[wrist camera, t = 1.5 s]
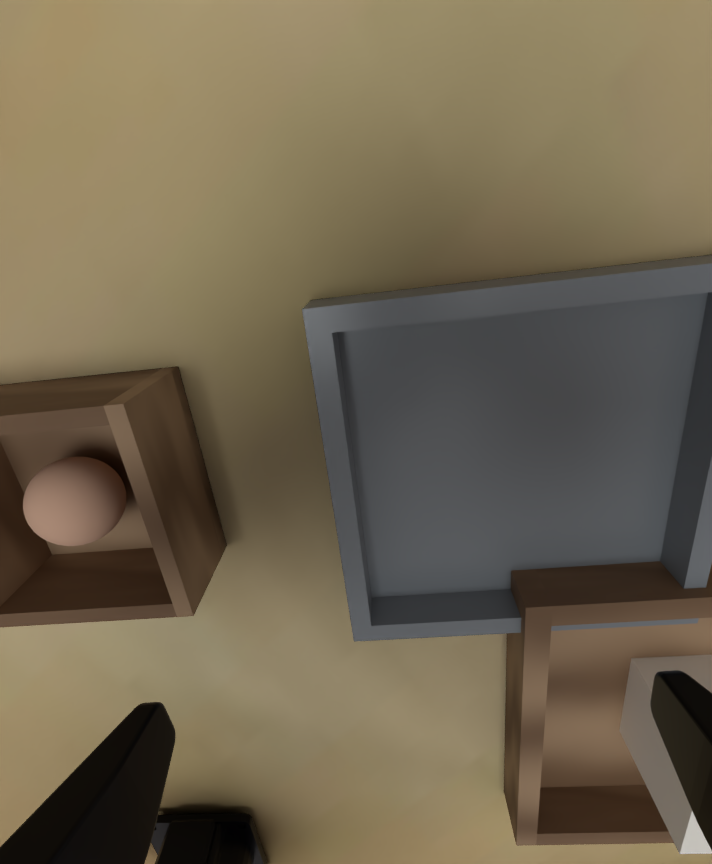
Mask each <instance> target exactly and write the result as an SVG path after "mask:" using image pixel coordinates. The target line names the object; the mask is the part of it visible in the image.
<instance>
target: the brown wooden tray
mask: <svg viewBox="0 0 712 864" xmlns="http://www.w3.org/2000/svg"><path fill="white" fill-rule="evenodd" d="M511 592H512V594H513V597H514V600H515V602H516V605H517V607H518V610H519V613H520V615H521V633H507V666H506V718H505V769H504V793H505V798H506V802H507V807H508V811H509V815H510V820H511V824H512V828H513V833H514V837H515V841H516V845H574V844H636V843H674V841H673V839H672V837H671V835H670V833H669V831H668V829H667V827H666V825H665V823H664V821H663V819H662V817H661V815H660V813H659V811H658V809H657V807H656V805H655V802H654V800H653V798H652V796H651V794H650V792H649V790H648V788H647V786H646V784H645V782H644V780H643V778H642V776H641V774H640V772H639V770H638V768H637V766H636V764H635V762H634V760H633V757H632V755H631V753H630V751H629V749H628V747H627V745H626V743H625V741H624V739H623V737H622V735H621V733H620V731H619V730H620V724H621V718H622V712H623V706H624V700H625V694H626V687H627V681H628V675H629V669H630V663H631V658H651V657H672V656H694V655H712V564H711V569H710V573H709V577H708V581H707V586H706V588H689V589H684V588H683V587H682V586H681V585H680V584H679V583H678V581H677V580H676V579H675V578H674V577H673V576H672V575H671V573H670V572H669V571H668V570H667V569H666V568H665V566H664V565H663V564H662V563H661V562H660V561H655V562H639V563H623V564H608V565H592V566H576V567H560V568H544V569H529V570H513V571H511ZM694 618H699V620H698V623H694V624H675V625H656V626H637V627H618V628H599V629H580V630H561V631H551V627H552V626H563V625H582V624H600V623H619V622H638V621H657V620H675V619H694Z"/></svg>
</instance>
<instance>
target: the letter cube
mask: <svg viewBox="0 0 712 864" xmlns="http://www.w3.org/2000/svg"><path fill="white" fill-rule="evenodd" d="M673 670H679V671H682V672H685V673H686V674H688V675H689V676H691V677H692V678H693V679H694V680H696V681H697V682H698V683H700V684H701V685H702V686H703V687H705V688H706V689H707V690H709V691H710V692H711V693H712V655H694V656H672V657H651V658H631V663H630V669H629V675H628V681H627V687H626V694H625V700H624V706H623V712H622V718H621V724H620V730H619V731H620V733H621V735H622V737H623V739H624V741H625V743H626V745H627V747H628V749H629V751H630V753H631V755H632V757H633V760H634V762H635V764H636V766H637V768H638V770H639V772H640V774H641V776H642V778H643V780H644V782H645V784H646V786H647V788H648V790H649V792H650V794H651V796H652V798H653V800H654V802H655V805H656V807H657V809H658V811H659V813H660V815H661V817H662V819H663V821H664V823H665V825H666V827H667V829H668V831H669V833H670V835H671V837H672V839H673V841H674V843H675V845H676V847H677V850H678V852H679V854H708V853H712V850H711V848H710V846H709V844H708V843H707V841H706V839H705V837H704V835H703V833H702V831H701V829H700V827H699V825H698V823H697V821H696V818H695V816H694V814H693V811H692V809H691V807H690V805H689V802H688V800H687V797H686V795H685V793H684V790H683V788H682V785H681V783H680V781H679V778H678V776H677V773H676V771H675V769H674V766H673V764H672V761H671V759H670V757H669V754H668V752H667V749H666V747H665V745H664V742H663V740H662V737H661V735H660V733H659V730H658V728H657V725H656V723H655V721H654V718H653V715H652V712H651V706H650V701H651V694H652V688H653V682H654V677H655V674H656V673H657V672H659V671H673Z"/></svg>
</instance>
